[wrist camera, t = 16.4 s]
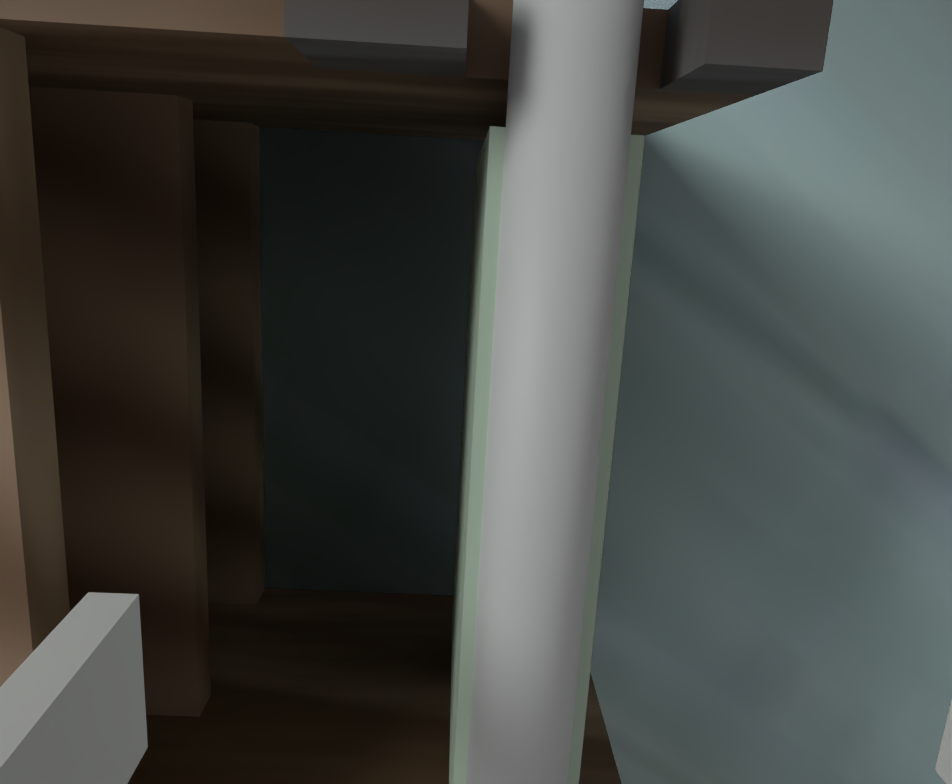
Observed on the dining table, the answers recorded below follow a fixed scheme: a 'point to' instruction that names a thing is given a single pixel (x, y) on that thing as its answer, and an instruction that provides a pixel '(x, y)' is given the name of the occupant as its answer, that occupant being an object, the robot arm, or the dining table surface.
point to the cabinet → (242, 345)
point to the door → (542, 389)
